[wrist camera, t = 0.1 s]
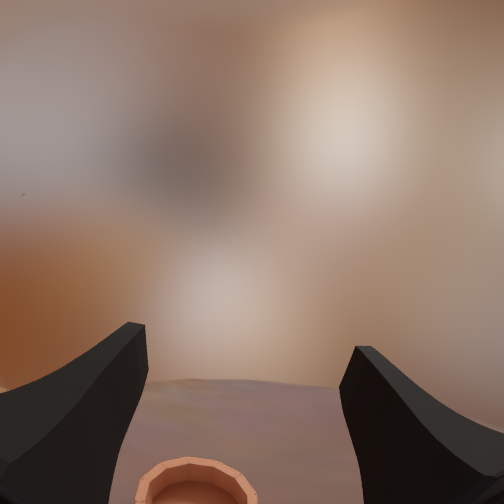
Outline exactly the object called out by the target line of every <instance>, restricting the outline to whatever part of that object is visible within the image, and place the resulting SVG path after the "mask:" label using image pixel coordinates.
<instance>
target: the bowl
mask: <svg viewBox="0 0 504 504" xmlns="http://www.w3.org/2000/svg"><path fill="white" fill-rule="evenodd" d="M256 494H257V493H256V492H255V491H254V489H253V488H252V487H251V485H250V484H249V483H248V481H247V480H246V479H245V477H244V476H243V475H242V474H241V473H240V472H238V471H236V470H234V469H232V468H230V467H228V466H226V465H224V464H223V463H221V462H219V461H217V462H216V460H210V459H203V458H196V457H189V459H188V457H183V458H178V459H174V460H169V461H165V462H162V464H161V463H159V464H158V465H157V466H156V467H154V468H153V469H152V470H151V471H149V472H148V473H147V474H145V475H144V476H143V477H142V479H141V480H140V483H139V487H138V490H137V494H136V497H135V504H257V495H256Z"/></svg>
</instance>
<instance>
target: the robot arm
mask: <svg viewBox="0 0 504 504" xmlns="http://www.w3.org/2000/svg"><path fill="white" fill-rule="evenodd" d="M148 369H149V368H148V358H147V346H146V333H145V325H143V324H137V323H132V322H127V323H126V324H124V325H123V326H121V327H120V328H119V329H118V330H116V331H115V332H113V333H112V334H111V335H109V336H108V337H107V338H105V339H104V340H103V341H101V342H100V343H98V344H97V345H96V346H94V347H93V348H91V349H90V350H89V351H87V352H86V353H84V354H82V355H81V356H79V357H78V358H76V359H74V360H73V361H71V362H70V363H68V364H67V365H65V366H63V367H62V368H60V369H58V370H56V371H54V372H52V373H51V374H48V375H47V376H44V377H42V378H41V379H38V380H36V381H34V382H31V383H29V384H26V385H23V386H21V387H18V388H16V389H14V390H10V391H7V392H4V393H0V504H108V502H109V495H110V490H111V485H112V480H113V475H114V471H115V466H116V462H117V458H118V454H119V451H120V448H121V445H122V442H123V439H124V437H125V434H126V432H127V429H128V427H129V425H130V422H131V420H132V417H133V415H134V412H135V410H136V407H137V405H138V403H139V400H140V398H141V395H142V392H143V389H144V385H145V381H146V378H147V374H148ZM339 390H340V397H341V404H342V409H343V413H344V417H345V420H346V423H347V427H348V430H349V433H350V437H351V440H352V443H353V446H354V450H355V453H356V456H357V460H358V464H359V468H360V475H361V481H362V488H363V498H364V504H504V434H503V433H500V432H498V431H495V430H492V429H489V428H487V427H485V426H482V425H480V424H478V423H476V422H474V421H472V420H470V419H468V418H466V417H464V416H462V415H460V414H458V413H456V412H455V411H453V410H451V409H450V408H448V407H447V406H445V405H444V404H442V403H441V402H439V401H438V400H436V399H435V398H433V397H432V396H431V395H429V394H428V393H426V392H425V391H424V390H423V389H422V388H420V387H419V386H418V385H417V384H415V383H414V382H413V381H412V380H411V379H409V378H408V377H407V376H406V375H405V374H403V373H402V372H401V371H400V370H399V369H398V368H397V367H395V366H394V365H393V364H392V363H391V362H390V361H388V360H387V359H386V358H385V357H384V356H383V355H382V354H380V353H379V352H378V351H377V350H375V349H374V348H373V347H371V346H355V349H354V351H353V354H352V357H351V359H350V362H349V364H348V367H347V369H346V372H345V374H344V376H343V379H342V381H341V383H340V386H339Z"/></svg>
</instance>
